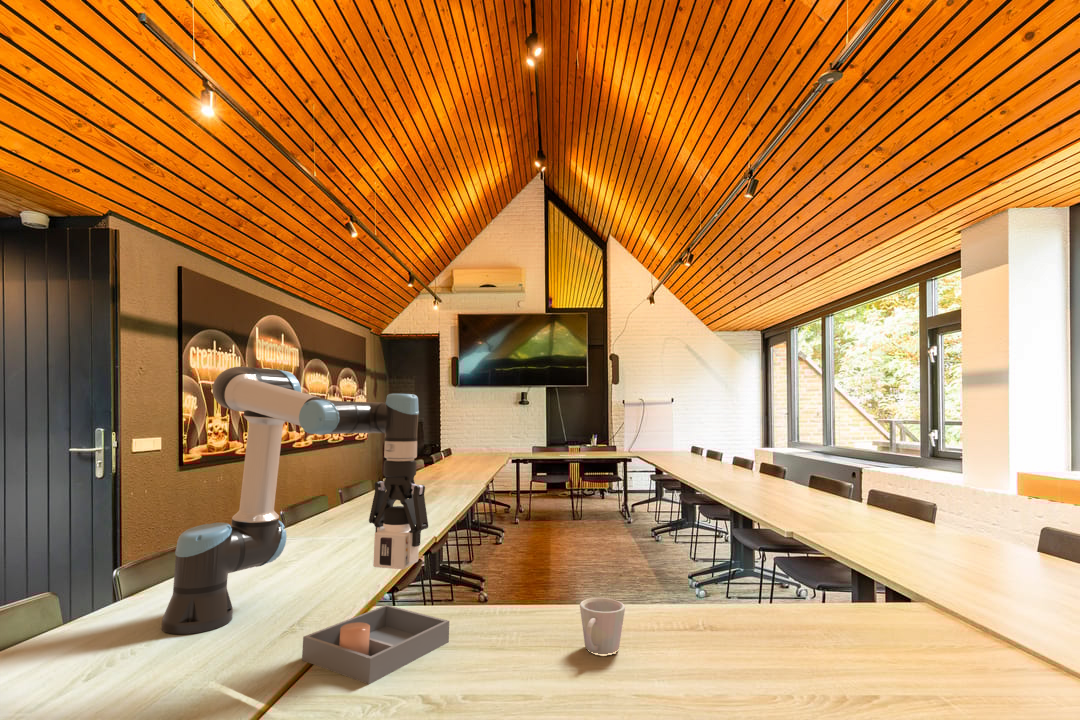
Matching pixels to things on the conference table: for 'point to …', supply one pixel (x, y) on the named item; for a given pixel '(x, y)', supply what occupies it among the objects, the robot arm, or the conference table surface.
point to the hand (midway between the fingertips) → (396, 557)
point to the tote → (377, 643)
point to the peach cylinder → (355, 637)
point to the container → (392, 540)
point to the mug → (602, 624)
